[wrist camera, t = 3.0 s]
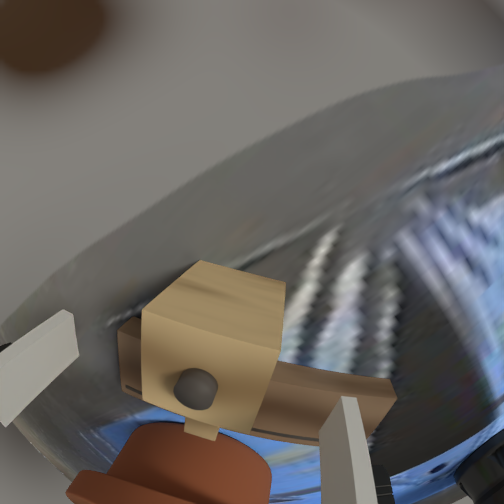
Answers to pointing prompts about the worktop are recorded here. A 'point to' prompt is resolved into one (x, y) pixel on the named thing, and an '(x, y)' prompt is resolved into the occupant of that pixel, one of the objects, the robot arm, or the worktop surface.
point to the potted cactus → (177, 471)
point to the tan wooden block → (212, 347)
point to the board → (282, 394)
